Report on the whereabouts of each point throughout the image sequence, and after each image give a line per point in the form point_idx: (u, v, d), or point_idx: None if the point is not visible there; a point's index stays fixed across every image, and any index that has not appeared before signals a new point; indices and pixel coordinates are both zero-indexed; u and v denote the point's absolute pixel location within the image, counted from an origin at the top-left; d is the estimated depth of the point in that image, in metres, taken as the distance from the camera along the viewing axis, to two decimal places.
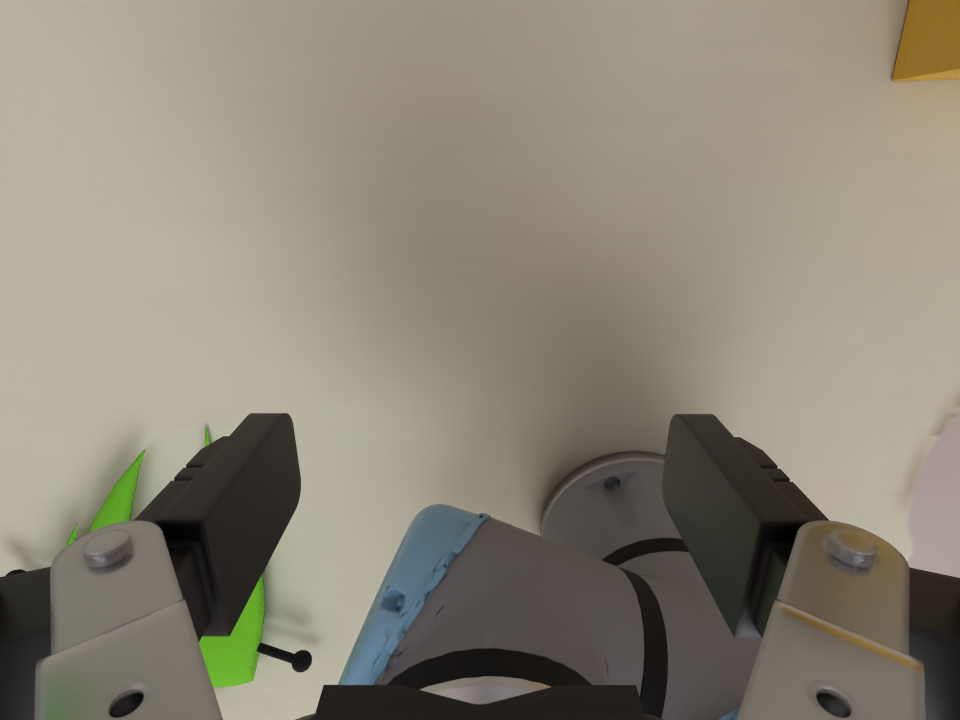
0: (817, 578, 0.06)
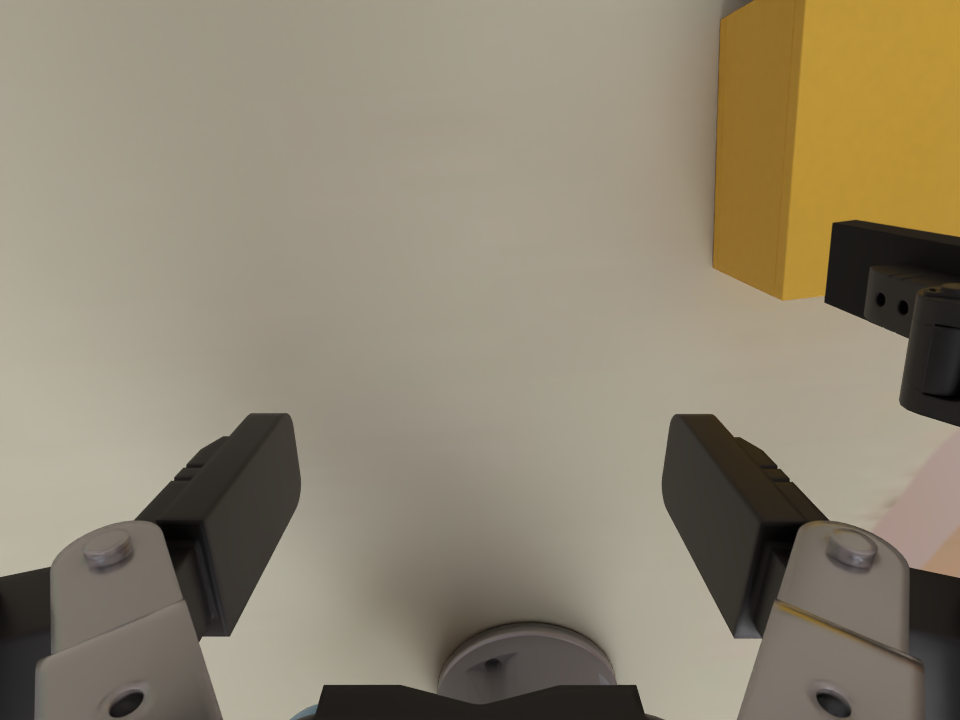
0: (817, 578, 0.06)
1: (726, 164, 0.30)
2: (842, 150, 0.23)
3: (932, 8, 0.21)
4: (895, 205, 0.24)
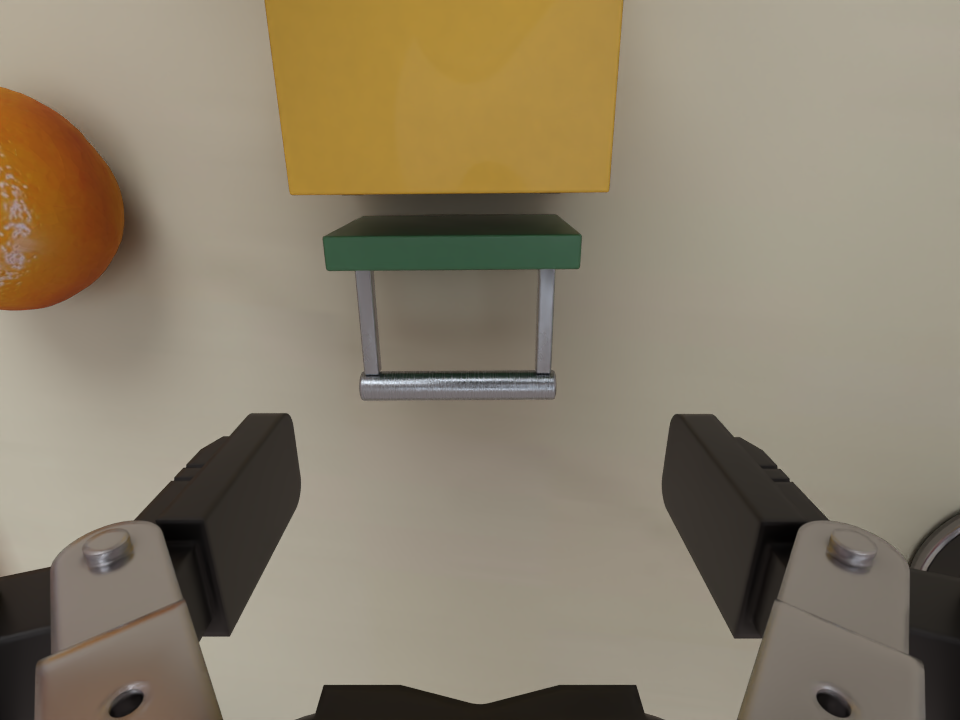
0: (817, 578, 0.06)
1: None
2: None
3: (445, 124, 0.16)
4: None
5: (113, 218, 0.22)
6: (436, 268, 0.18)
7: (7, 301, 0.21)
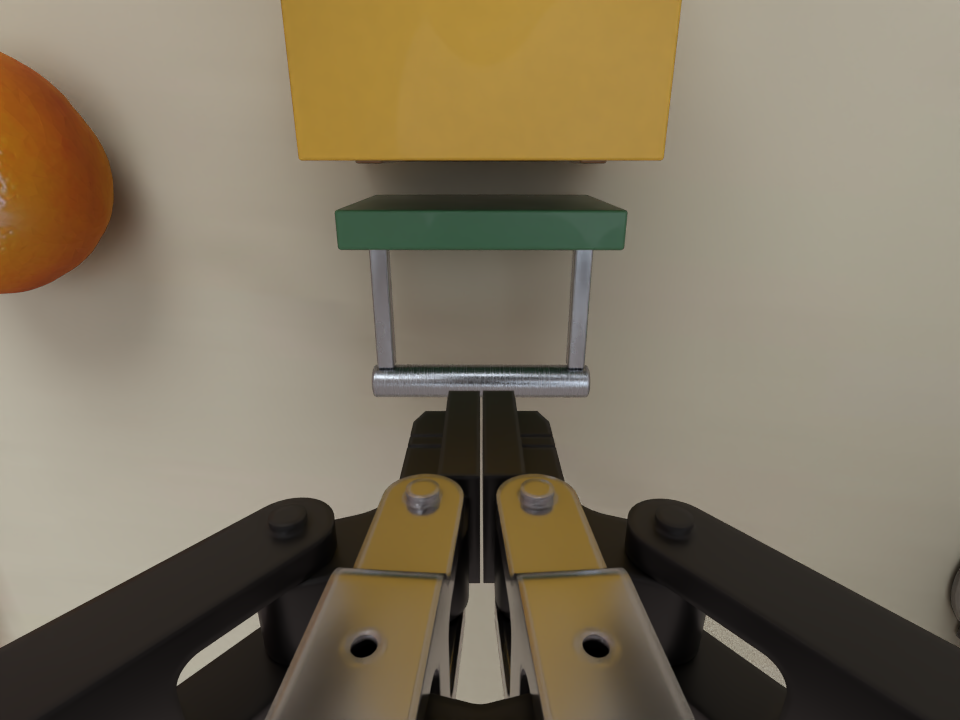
0: (527, 533, 0.07)
1: None
2: None
3: (478, 78, 0.14)
4: None
5: (101, 192, 0.20)
6: (462, 248, 0.16)
7: None
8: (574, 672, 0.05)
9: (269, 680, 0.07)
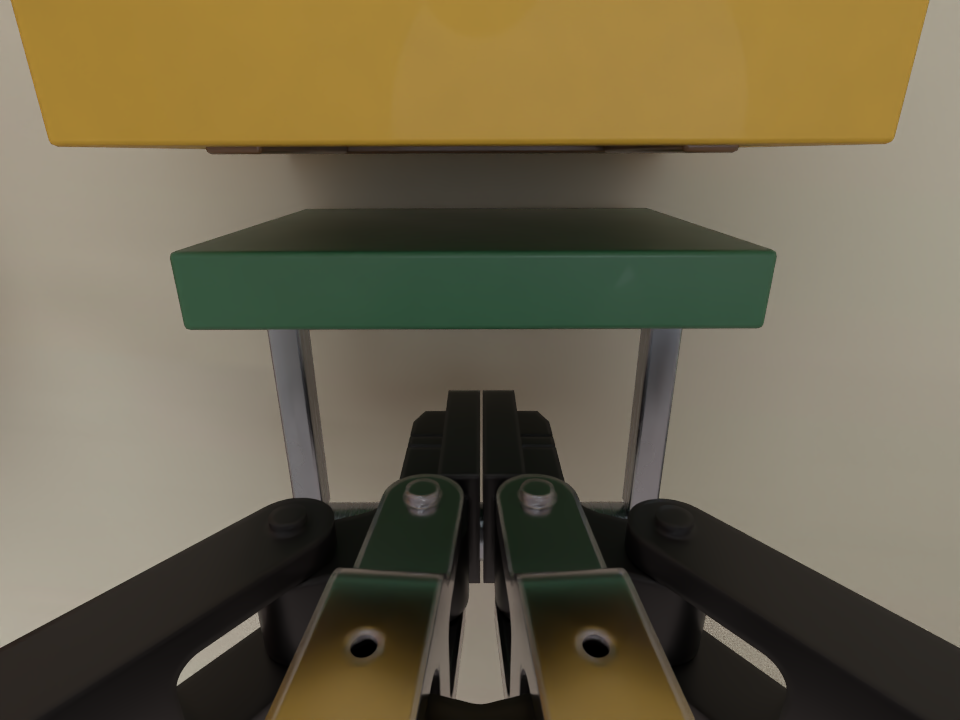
0: (527, 533, 0.07)
1: None
2: None
3: None
4: None
5: None
6: (436, 326, 0.08)
7: None
8: (574, 672, 0.05)
9: (269, 680, 0.07)
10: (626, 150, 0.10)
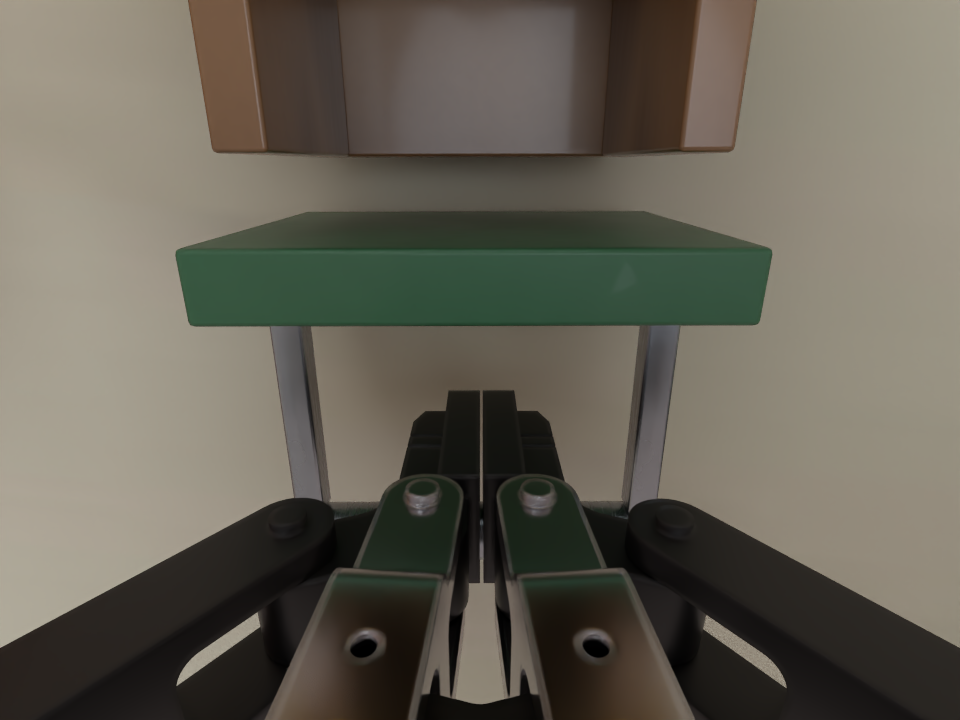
0: (527, 533, 0.07)
1: None
2: None
3: None
4: None
5: None
6: (437, 322, 0.08)
7: None
8: (574, 672, 0.05)
9: (269, 680, 0.07)
10: (624, 153, 0.10)
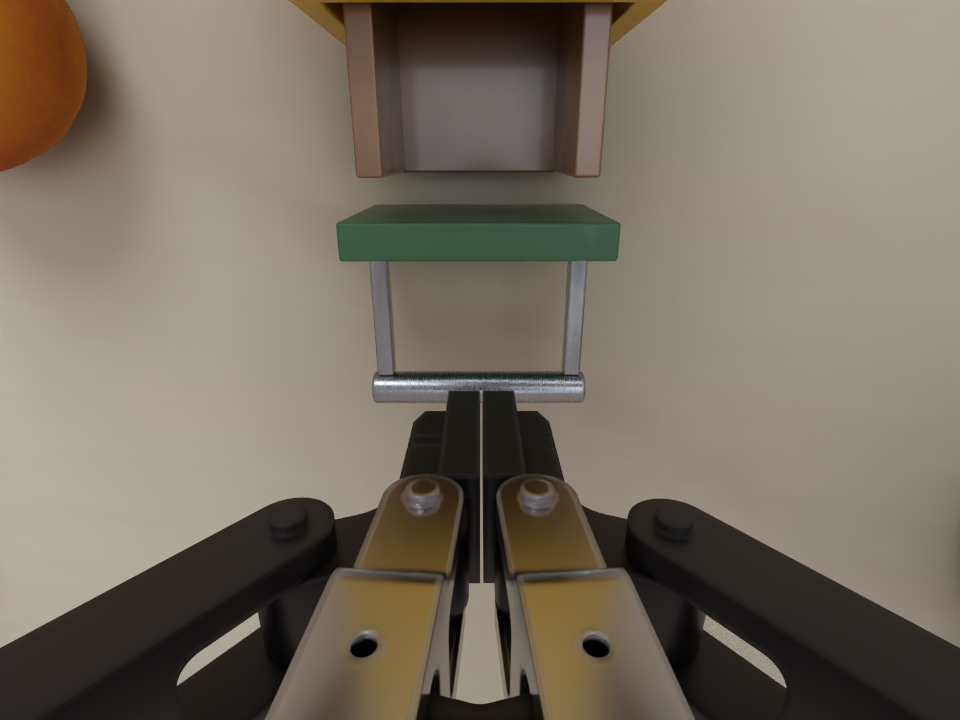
0: (527, 533, 0.07)
1: None
2: None
3: None
4: None
5: (72, 60, 0.18)
6: (460, 259, 0.17)
7: None
8: (574, 672, 0.05)
9: (269, 680, 0.07)
10: (560, 172, 0.19)
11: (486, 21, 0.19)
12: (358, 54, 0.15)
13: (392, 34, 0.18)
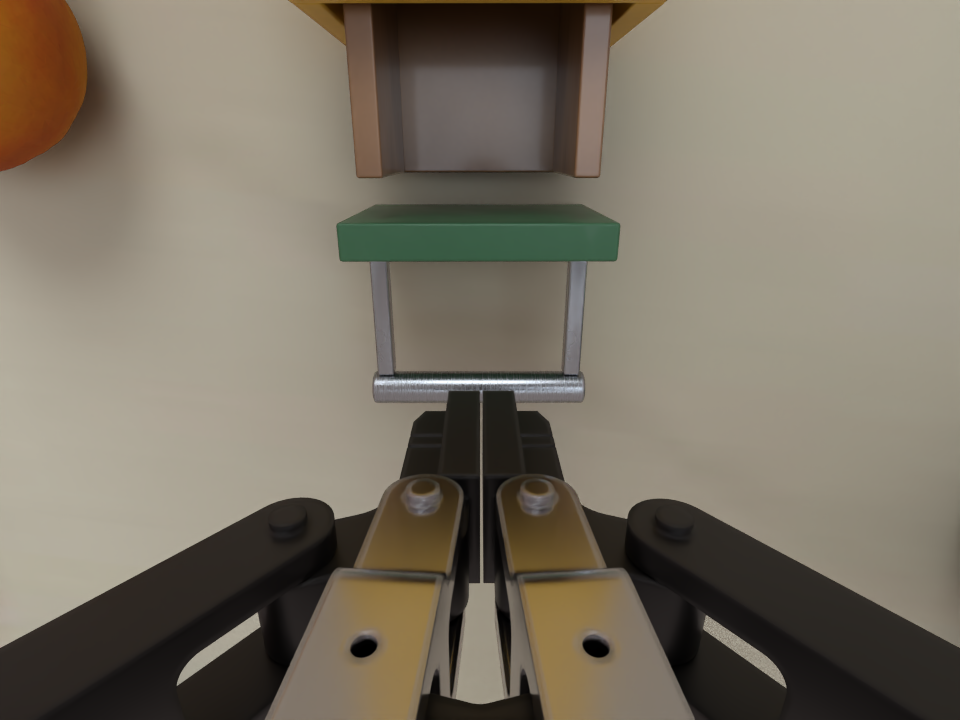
0: (527, 533, 0.07)
1: None
2: None
3: None
4: None
5: (72, 60, 0.18)
6: (460, 259, 0.17)
7: None
8: (574, 672, 0.05)
9: (269, 680, 0.07)
10: (560, 172, 0.19)
11: (486, 21, 0.19)
12: (358, 55, 0.15)
13: (392, 34, 0.18)
